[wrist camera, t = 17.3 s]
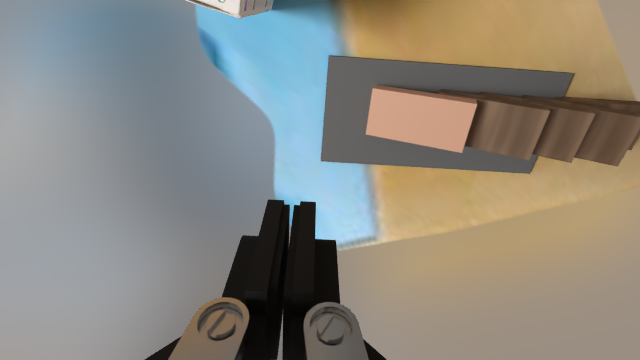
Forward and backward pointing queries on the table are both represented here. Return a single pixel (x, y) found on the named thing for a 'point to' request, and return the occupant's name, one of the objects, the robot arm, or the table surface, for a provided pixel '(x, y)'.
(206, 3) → the syrup box
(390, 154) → the mat
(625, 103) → the domino
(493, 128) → the domino
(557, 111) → the domino
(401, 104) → the domino
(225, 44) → the table surface
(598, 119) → the domino
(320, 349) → the robot arm
